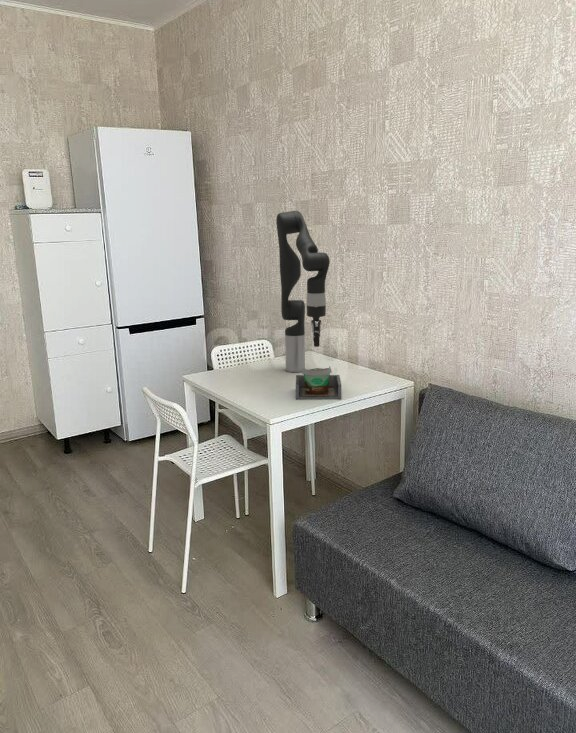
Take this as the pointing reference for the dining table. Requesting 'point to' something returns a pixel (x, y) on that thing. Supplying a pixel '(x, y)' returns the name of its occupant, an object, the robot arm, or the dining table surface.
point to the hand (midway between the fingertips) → (316, 344)
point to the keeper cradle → (332, 393)
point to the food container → (316, 380)
